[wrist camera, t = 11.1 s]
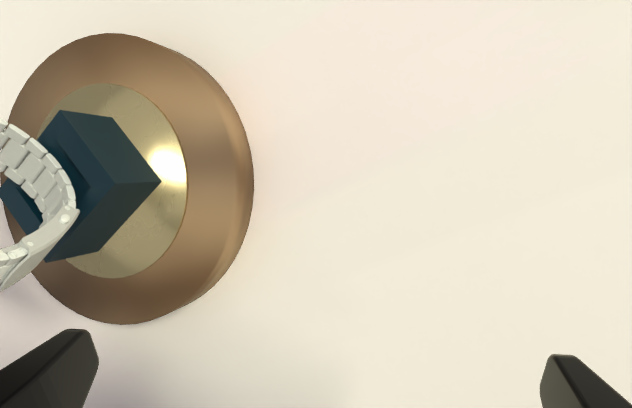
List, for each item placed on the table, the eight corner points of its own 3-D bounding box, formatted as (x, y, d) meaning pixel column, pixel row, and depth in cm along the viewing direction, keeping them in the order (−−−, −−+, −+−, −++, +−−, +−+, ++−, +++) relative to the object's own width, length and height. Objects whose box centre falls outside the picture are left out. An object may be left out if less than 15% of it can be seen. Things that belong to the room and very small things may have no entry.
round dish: (281, 295, 23) (262, 307, 21) (61, 326, 28) (28, 339, 26) (219, 4, 23) (194, -12, 21) (10, 87, 28) (-27, 80, 26)
